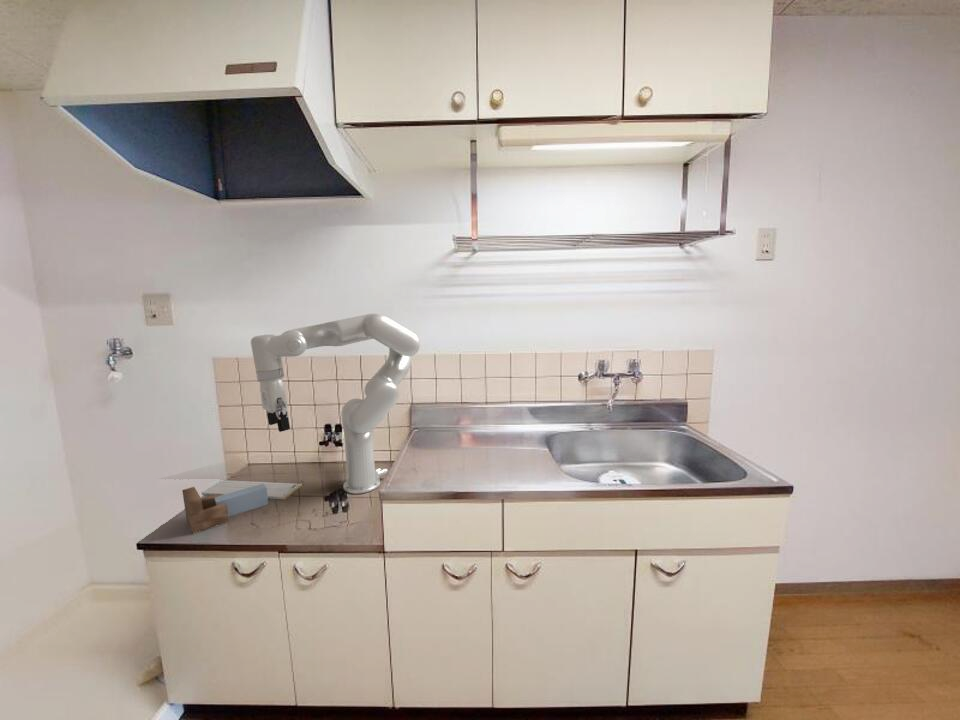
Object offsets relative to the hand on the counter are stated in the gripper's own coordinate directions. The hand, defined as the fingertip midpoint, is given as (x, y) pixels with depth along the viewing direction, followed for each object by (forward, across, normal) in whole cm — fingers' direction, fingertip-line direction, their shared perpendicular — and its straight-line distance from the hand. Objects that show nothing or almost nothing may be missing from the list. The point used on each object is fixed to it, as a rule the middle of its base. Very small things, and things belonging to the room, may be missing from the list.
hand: (279, 427), depth 129 cm
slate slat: (+26, -7, -13) cm, 30 cm away
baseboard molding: (+27, -20, -6) cm, 34 cm away
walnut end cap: (+25, -7, -22) cm, 34 cm away
